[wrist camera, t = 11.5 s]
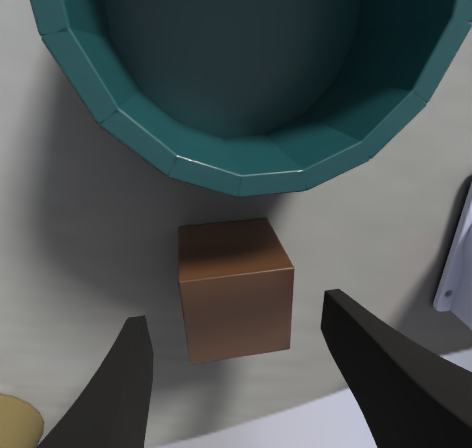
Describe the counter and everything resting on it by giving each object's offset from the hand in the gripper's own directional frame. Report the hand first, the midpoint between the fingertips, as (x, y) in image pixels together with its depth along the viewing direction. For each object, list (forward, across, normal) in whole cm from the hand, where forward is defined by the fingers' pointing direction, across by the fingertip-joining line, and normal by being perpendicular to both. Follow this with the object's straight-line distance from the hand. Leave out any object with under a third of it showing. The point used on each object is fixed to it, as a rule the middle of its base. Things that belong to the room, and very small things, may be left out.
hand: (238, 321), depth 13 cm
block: (+4, 0, 0) cm, 5 cm away
